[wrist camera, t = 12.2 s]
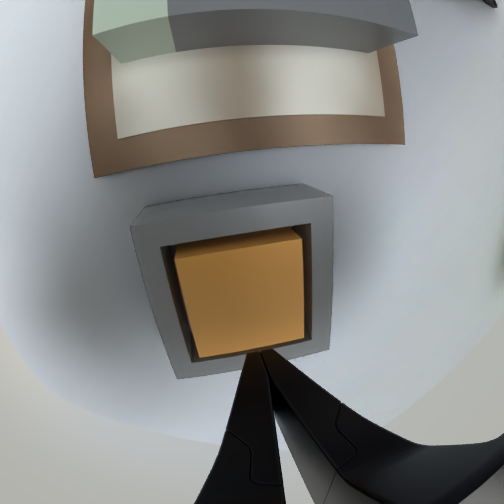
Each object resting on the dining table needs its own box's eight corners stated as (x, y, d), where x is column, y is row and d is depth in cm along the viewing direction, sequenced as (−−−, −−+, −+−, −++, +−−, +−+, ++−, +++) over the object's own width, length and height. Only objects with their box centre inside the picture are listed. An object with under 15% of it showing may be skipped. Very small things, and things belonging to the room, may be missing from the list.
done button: (283, 221, 14) (302, 238, 11) (288, 309, 16) (304, 337, 13) (178, 237, 13) (174, 259, 11) (198, 325, 15) (199, 357, 13)
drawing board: (358, -46, 9) (367, -53, 8) (394, 143, 14) (407, 144, 13) (97, -41, 7) (91, -50, 6) (101, 175, 12) (92, 178, 11)
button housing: (303, 183, 14) (332, 196, 11) (307, 314, 17) (329, 349, 14) (145, 207, 13) (129, 226, 10) (178, 338, 16) (176, 379, 13)
